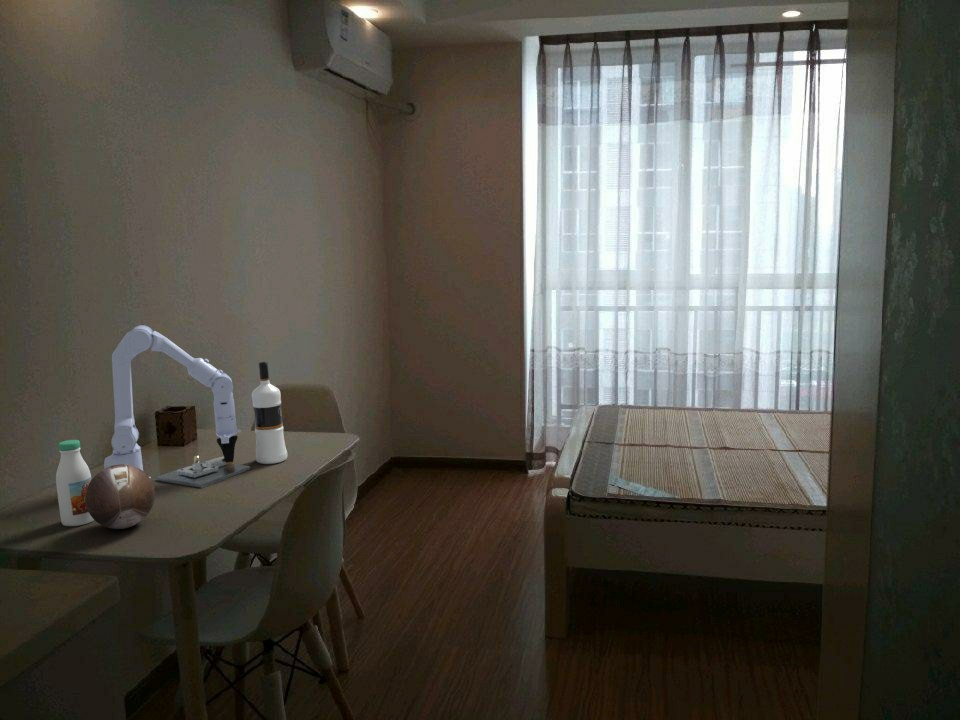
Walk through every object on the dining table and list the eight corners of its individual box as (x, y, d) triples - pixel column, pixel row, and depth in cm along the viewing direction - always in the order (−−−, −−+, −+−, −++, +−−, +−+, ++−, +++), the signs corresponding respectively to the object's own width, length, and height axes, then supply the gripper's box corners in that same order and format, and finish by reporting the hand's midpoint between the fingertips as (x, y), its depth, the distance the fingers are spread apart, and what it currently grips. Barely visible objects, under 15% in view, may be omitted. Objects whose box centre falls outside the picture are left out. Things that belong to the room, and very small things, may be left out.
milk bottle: (60, 529, 194) (49, 447, 190) (62, 519, 201) (52, 440, 197) (96, 523, 197) (86, 443, 193) (97, 513, 204) (87, 435, 200)
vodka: (251, 460, 246) (242, 362, 241) (281, 454, 251) (272, 358, 246) (262, 466, 238) (253, 365, 233) (292, 460, 243) (284, 361, 238)
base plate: (201, 488, 221) (200, 475, 220) (156, 480, 229) (155, 468, 229) (250, 469, 236) (249, 457, 236) (206, 463, 245) (204, 451, 244)
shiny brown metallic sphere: (106, 543, 183) (98, 479, 181) (78, 529, 193) (70, 468, 191) (169, 524, 194) (162, 463, 192) (140, 511, 204) (133, 453, 202)
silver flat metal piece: (194, 477, 226) (193, 470, 226) (177, 473, 231) (176, 466, 230) (239, 463, 238) (238, 456, 238) (222, 460, 243) (221, 453, 242)
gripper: (237, 420, 229) (242, 467, 231) (241, 409, 243) (245, 453, 245) (211, 422, 227) (216, 469, 229) (216, 411, 241) (220, 456, 243)
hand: (229, 461), depth 237 cm, fingers closed, pressing on silver flat metal piece
